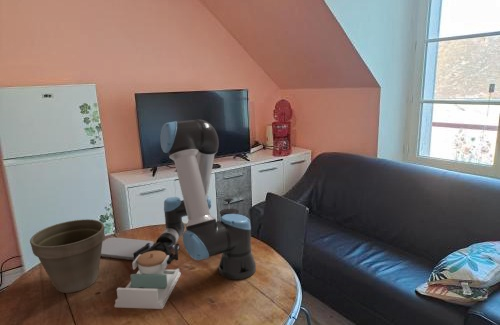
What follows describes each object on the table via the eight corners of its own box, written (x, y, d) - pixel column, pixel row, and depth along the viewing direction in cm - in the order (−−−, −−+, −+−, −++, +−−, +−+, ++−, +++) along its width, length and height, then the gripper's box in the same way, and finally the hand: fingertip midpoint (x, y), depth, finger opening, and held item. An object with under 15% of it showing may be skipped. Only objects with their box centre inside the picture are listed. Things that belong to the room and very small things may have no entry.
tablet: (110, 241, 170) (109, 236, 169) (156, 245, 164) (156, 241, 163) (87, 256, 155) (86, 251, 154) (138, 262, 148) (137, 257, 148)
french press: (243, 241, 165) (241, 196, 160) (239, 250, 156) (238, 203, 151) (219, 240, 167) (217, 195, 162) (214, 249, 158) (212, 202, 153)
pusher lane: (140, 273, 138) (138, 257, 137) (180, 274, 137) (179, 258, 135) (114, 307, 117) (112, 289, 116) (162, 309, 116) (160, 290, 114)
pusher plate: (132, 285, 127) (131, 273, 126) (167, 286, 126) (166, 274, 125) (131, 287, 126) (130, 275, 125) (166, 288, 125) (165, 276, 124)
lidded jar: (160, 284, 125) (157, 261, 123) (133, 281, 127) (131, 258, 125) (172, 269, 135) (170, 247, 133) (147, 266, 138) (145, 245, 135)
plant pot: (23, 302, 121) (13, 246, 116) (61, 266, 145) (54, 219, 140) (93, 301, 121) (85, 245, 116) (119, 265, 145) (114, 218, 140)
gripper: (194, 248, 147) (179, 276, 126) (142, 247, 149) (119, 274, 128) (193, 232, 146) (177, 258, 124) (141, 231, 148) (117, 256, 126)
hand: (148, 266), depth 126 cm, fingers closed on lidded jar, 11 cm apart
